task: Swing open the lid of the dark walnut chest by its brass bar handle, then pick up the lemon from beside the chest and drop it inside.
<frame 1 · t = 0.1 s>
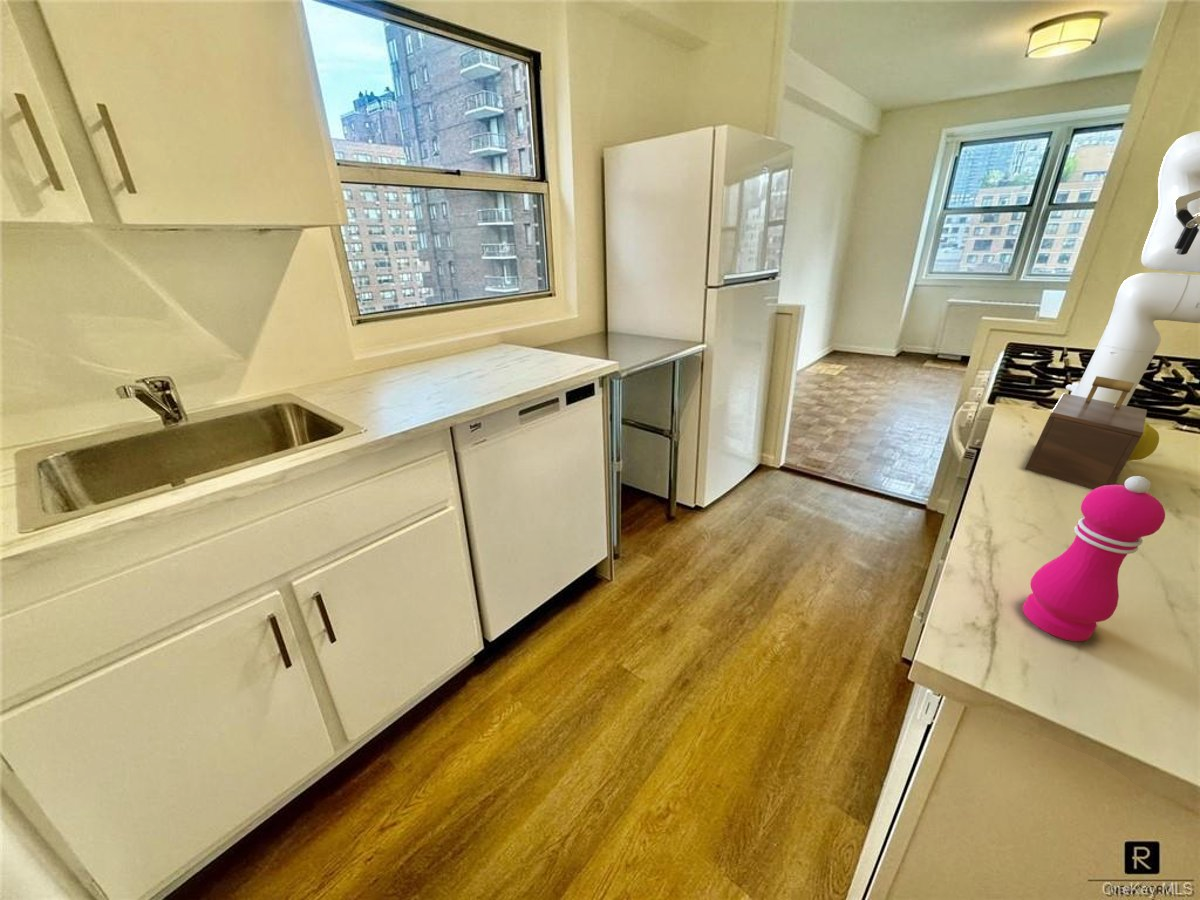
chest: (1069, 468, 91), on the worktop
lid: (1105, 400, 85), point 14 cm above the worktop, hinge at 0.0°
pepper mill: (1054, 622, 58), on the worktop
lemon: (1124, 462, 94), on the worktop
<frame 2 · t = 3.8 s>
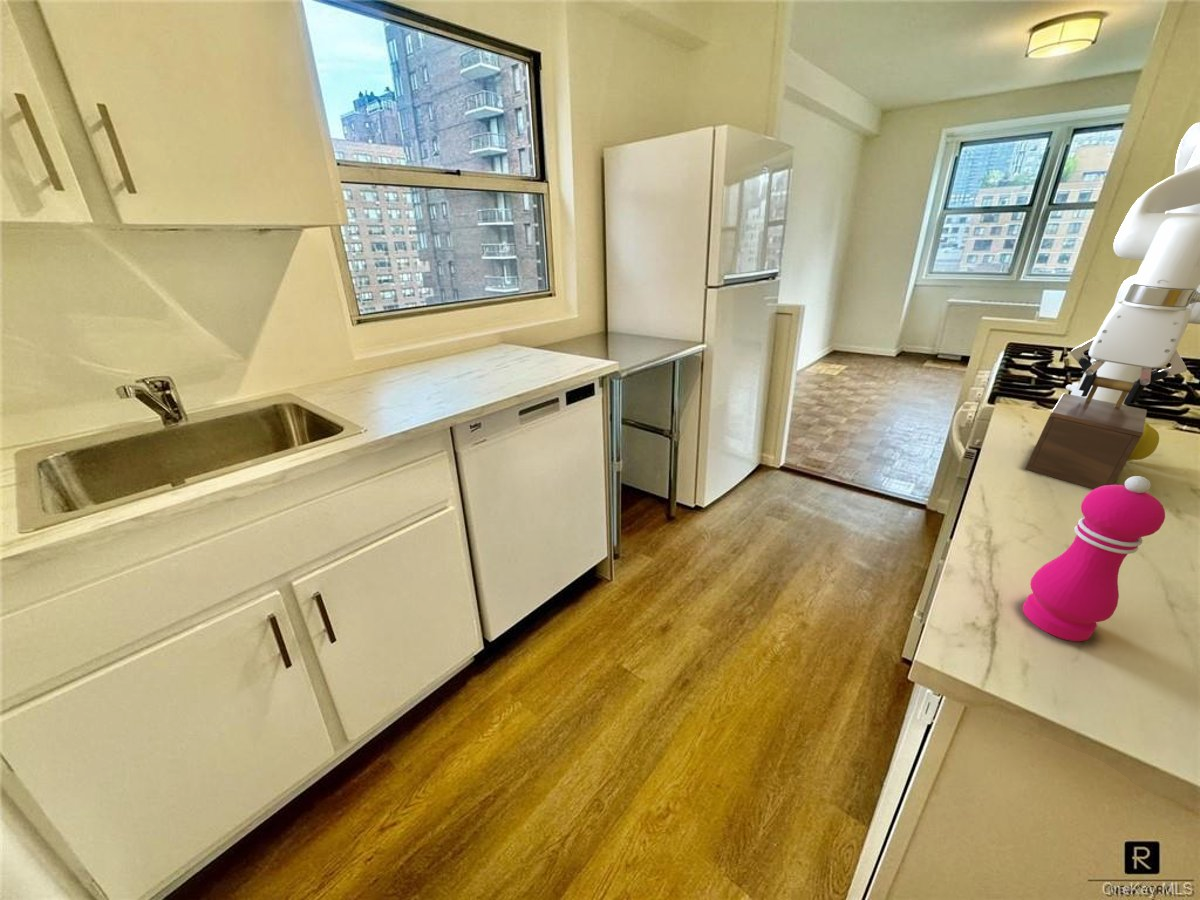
hand: (1105, 398, 89), 13 cm above the worktop, tool pointing down, fingers closed on lid, 5 cm apart
lid: (1105, 400, 85), point 14 cm above the worktop, hinge at 0.0°, touching gripper
everything else where it was.
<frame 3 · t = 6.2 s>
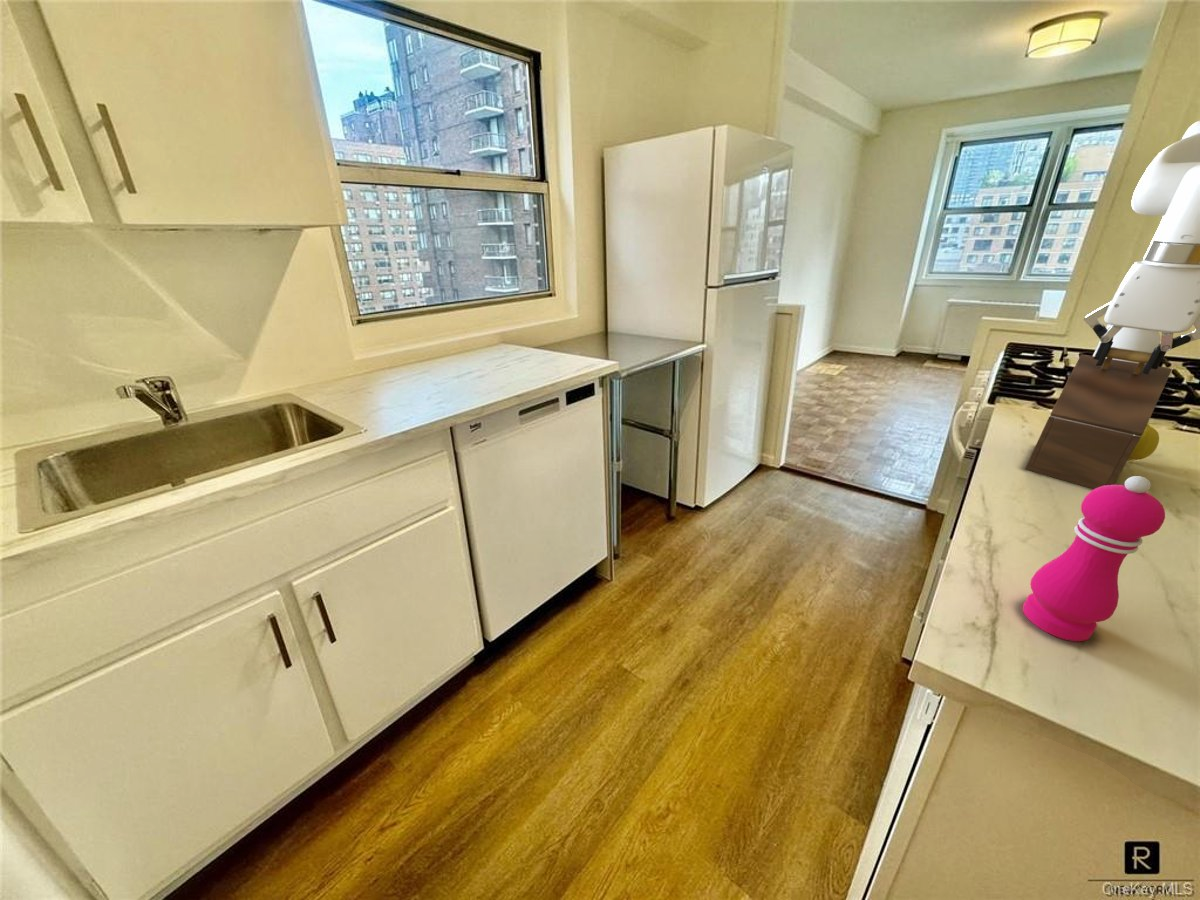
hand: (1122, 367, 83), 20 cm above the worktop, tool pointing down, fingers closed on lid, 5 cm apart
lid: (1114, 383, 82), point 17 cm above the worktop, hinge at 35.5°, touching gripper
everything else where it was.
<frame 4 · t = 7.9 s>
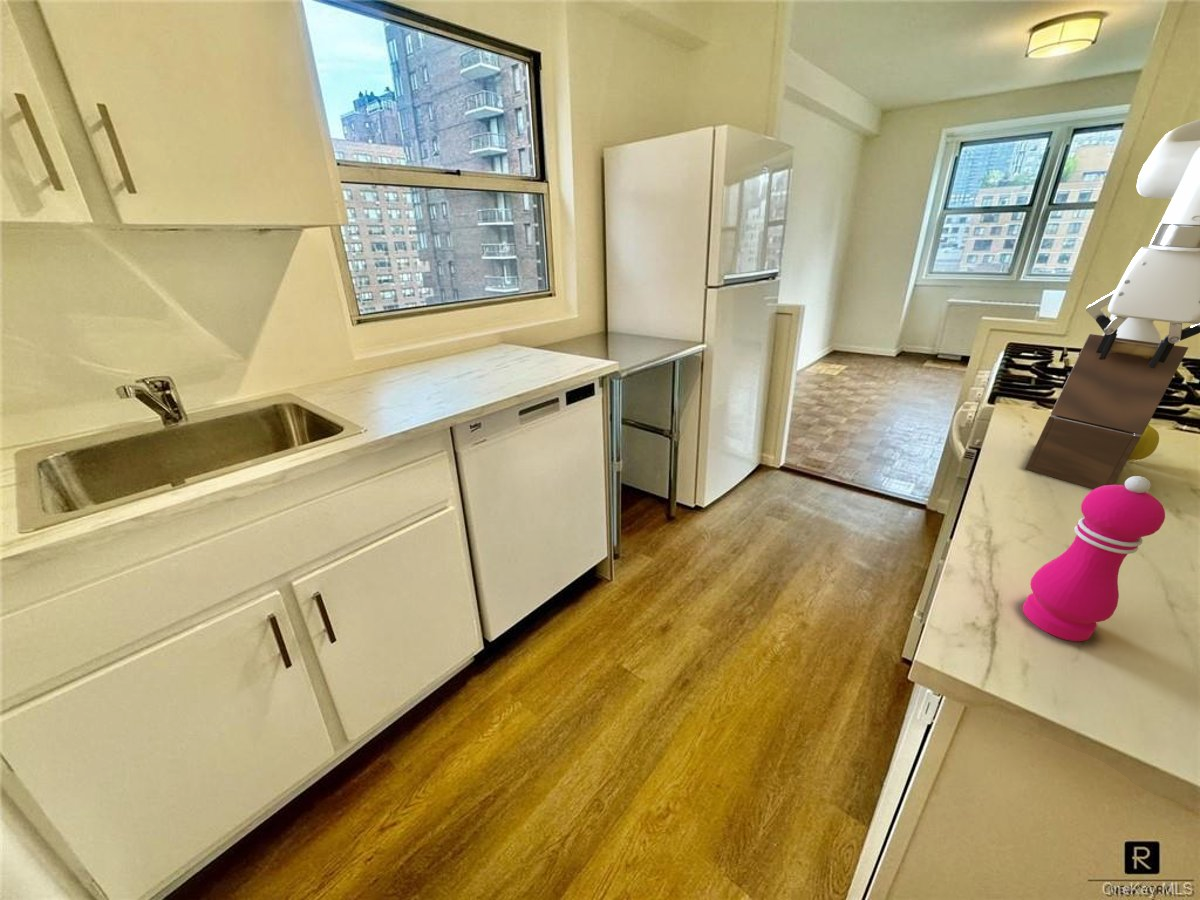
hand: (1126, 360, 77), 22 cm above the worktop, tool pointing down, fingers closed on lid, 5 cm apart
lid: (1116, 380, 79), point 19 cm above the worktop, hinge at 67.4°, touching gripper
everything else where it was.
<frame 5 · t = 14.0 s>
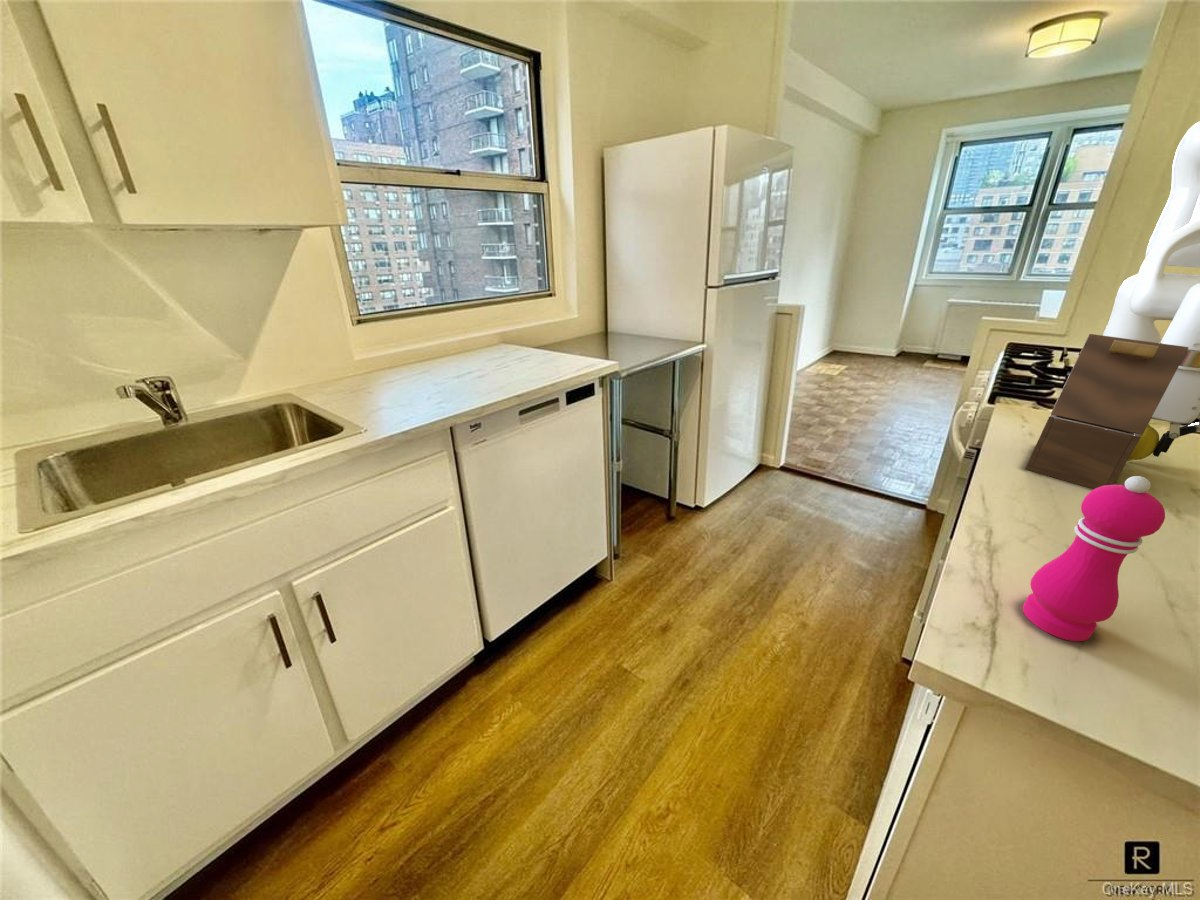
hand: (1132, 447, 93), 3 cm above the worktop, tool pointing down, fingers closed on lemon, 5 cm apart
lid: (1116, 380, 79), point 19 cm above the worktop, hinge at 67.8°
lemon: (1124, 462, 94), on the worktop, touching gripper
everything else where it was.
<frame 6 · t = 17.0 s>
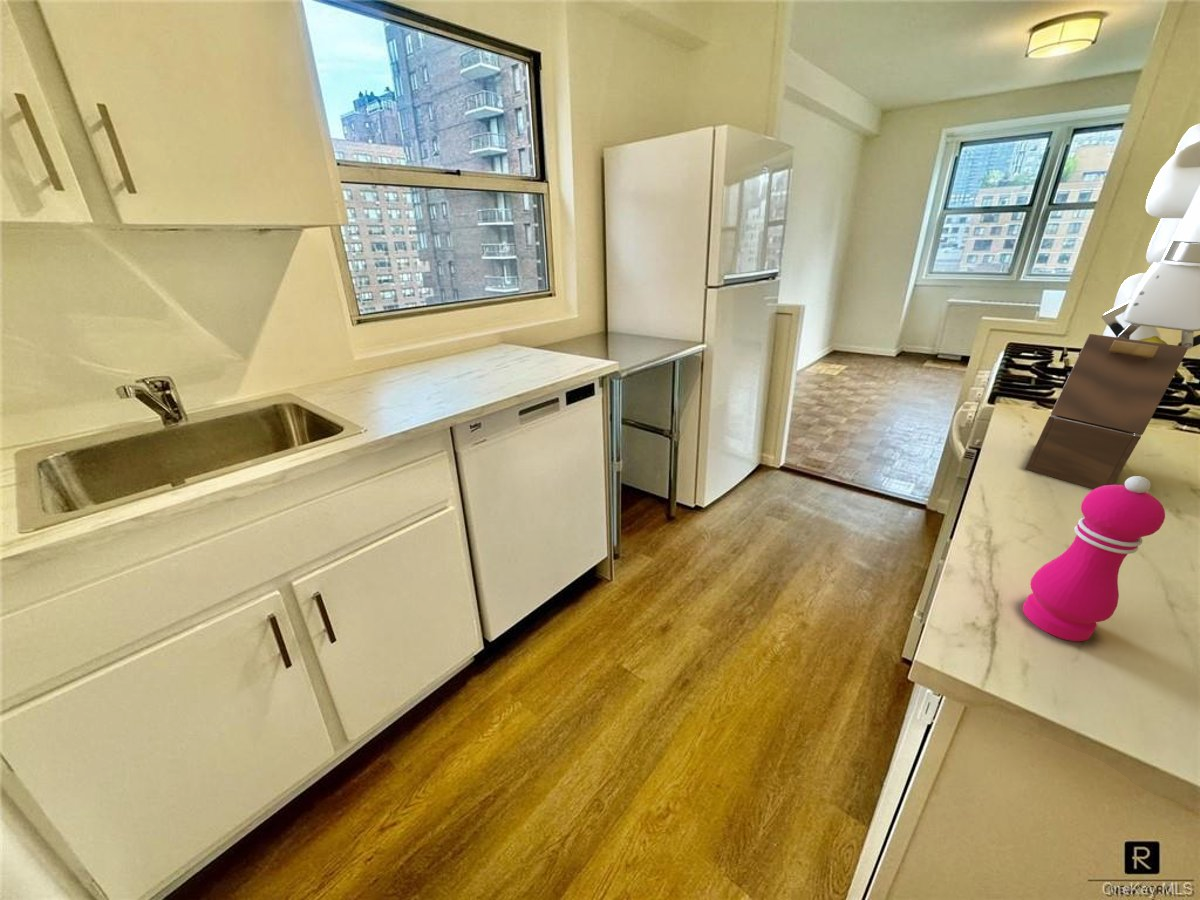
hand: (1140, 365, 84), 20 cm above the worktop, tool pointing down, fingers closed on lemon, 5 cm apart
lemon: (1131, 382, 86), point 17 cm above the worktop, touching gripper
everything else where it was.
when the fingers open (11 cm above the worktop, at t = 19.9 s): lemon drops 7 cm, resting on chest.
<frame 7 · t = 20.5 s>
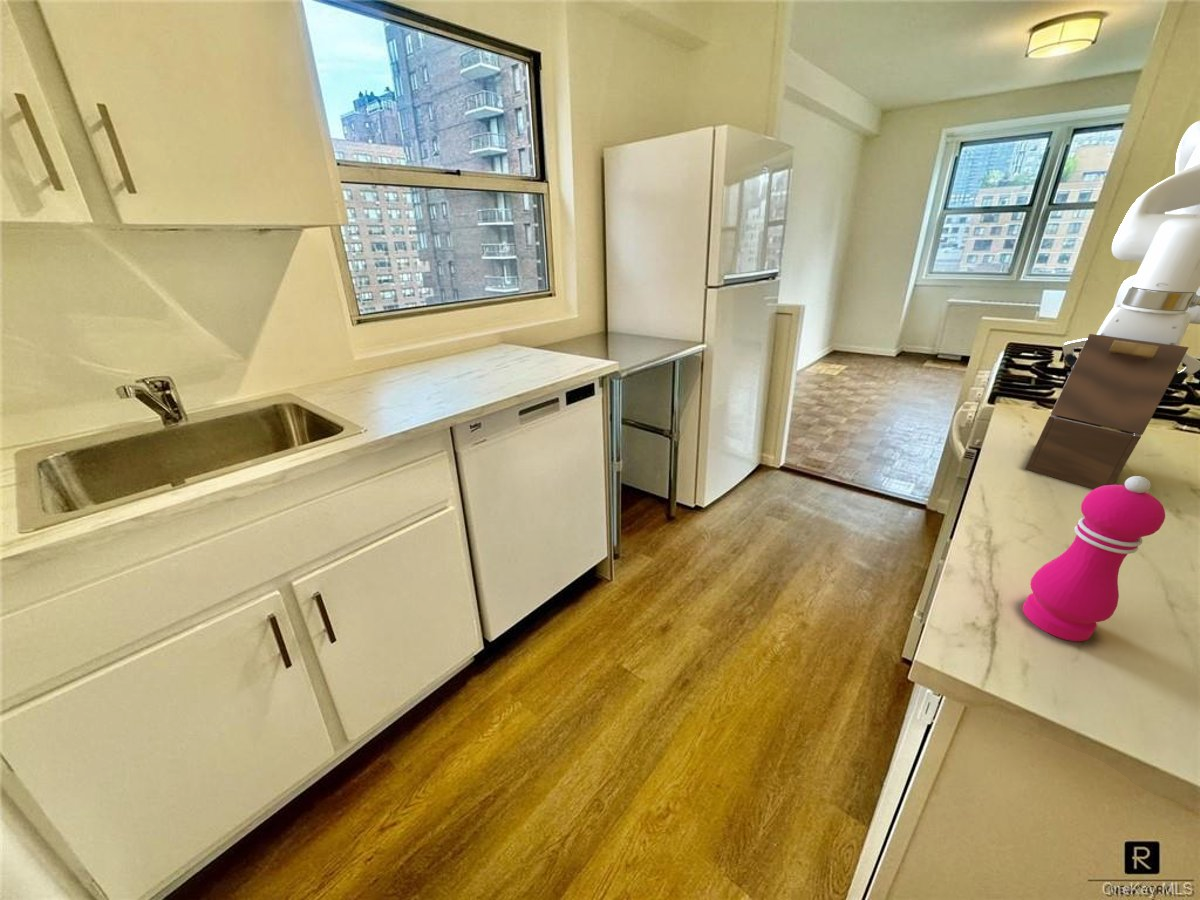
hand: (1105, 398, 87), 13 cm above the worktop, tool pointing down, fingers open, 9 cm apart
lemon: (1075, 458, 92), point 1 cm above the worktop, touching chest
everything else where it was.
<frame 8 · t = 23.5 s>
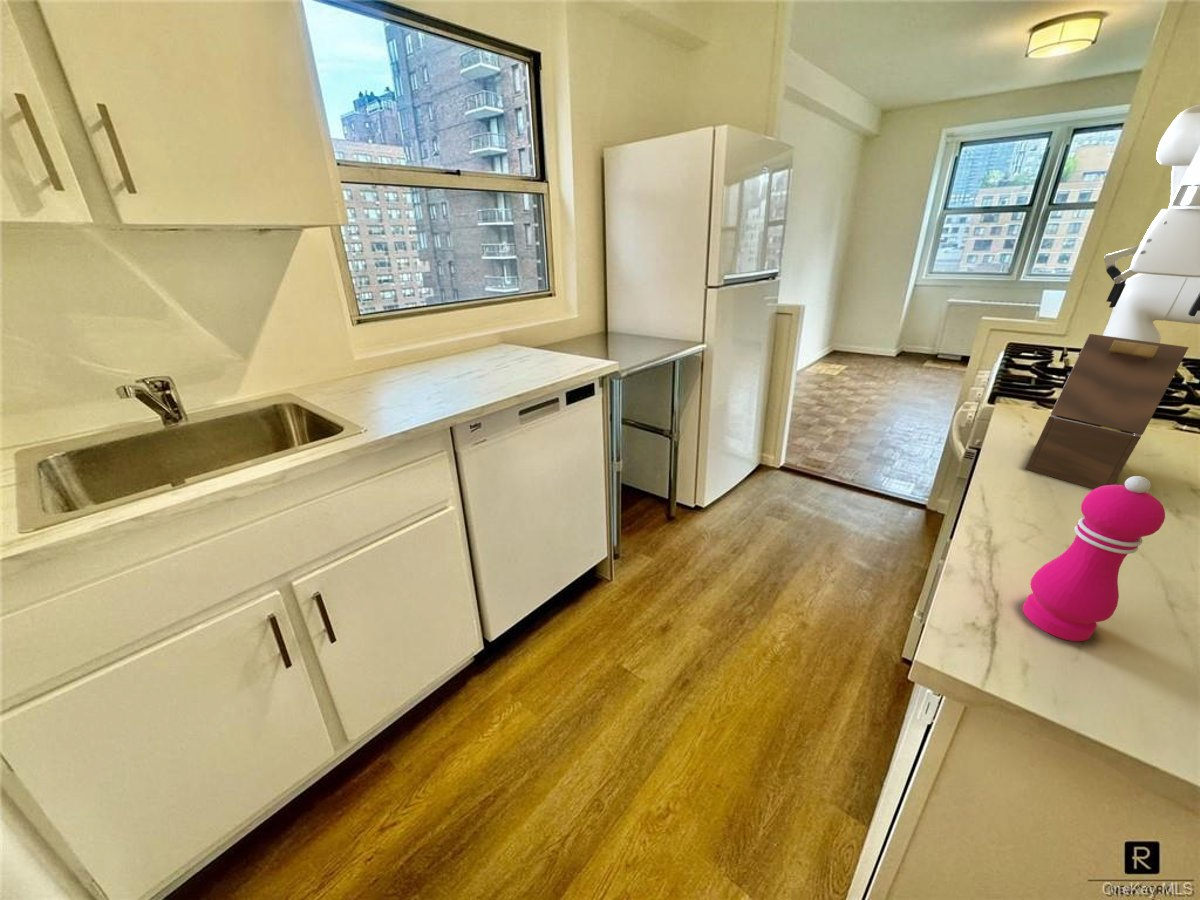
hand: (1150, 310, 83), 28 cm above the worktop, tool pointing down, fingers open, 9 cm apart
nothing on the worktop moved.
at the end: lid at +68° (first picture: +0°); lemon inside the target area in the chest (2.7 cm from its centre), point 1.2 cm above the chest's base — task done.
